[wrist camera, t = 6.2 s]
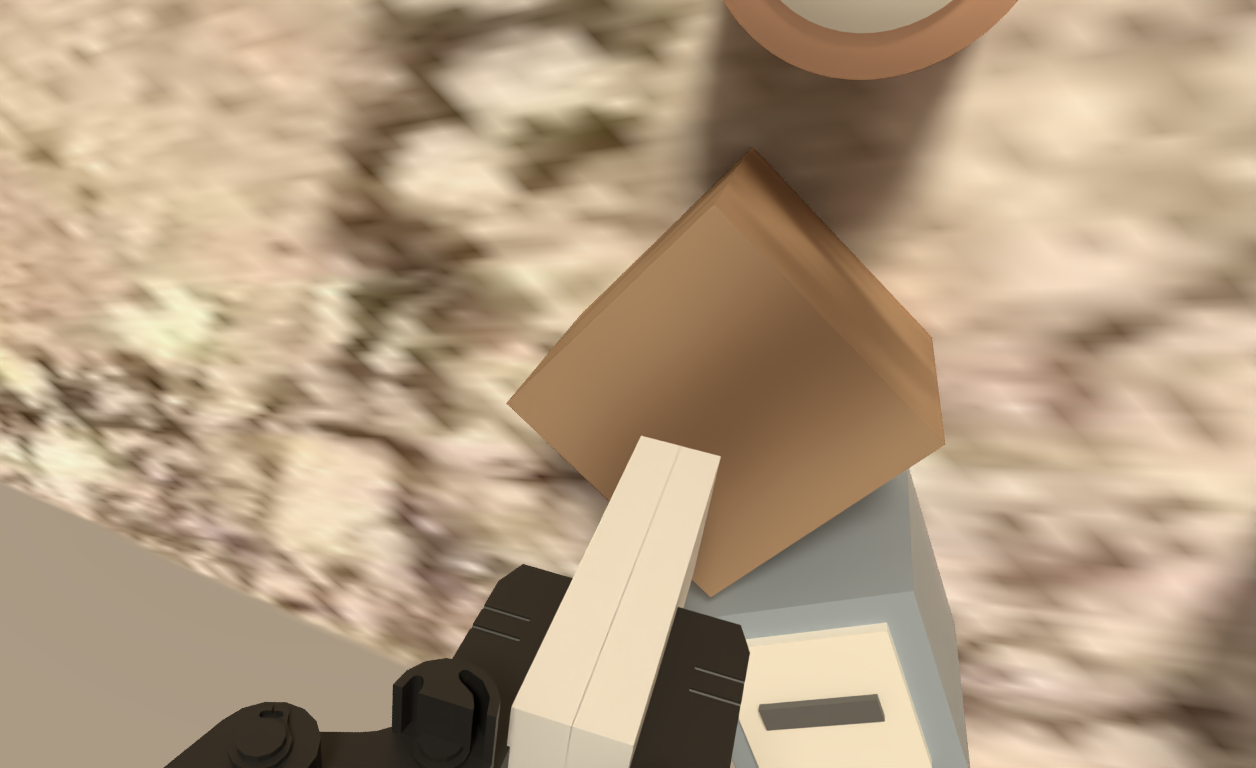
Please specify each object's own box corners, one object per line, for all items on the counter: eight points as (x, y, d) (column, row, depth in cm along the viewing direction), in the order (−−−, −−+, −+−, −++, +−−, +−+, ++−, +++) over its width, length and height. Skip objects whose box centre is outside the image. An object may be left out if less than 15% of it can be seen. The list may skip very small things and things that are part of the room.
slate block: (713, 496, 27) (669, 635, 22) (906, 459, 25) (914, 605, 20) (769, 643, 29) (743, 806, 24) (954, 622, 27) (973, 797, 22)
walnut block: (582, 313, 26) (506, 403, 21) (753, 146, 23) (714, 203, 17) (744, 473, 27) (710, 597, 22) (931, 335, 23) (945, 444, 18)
